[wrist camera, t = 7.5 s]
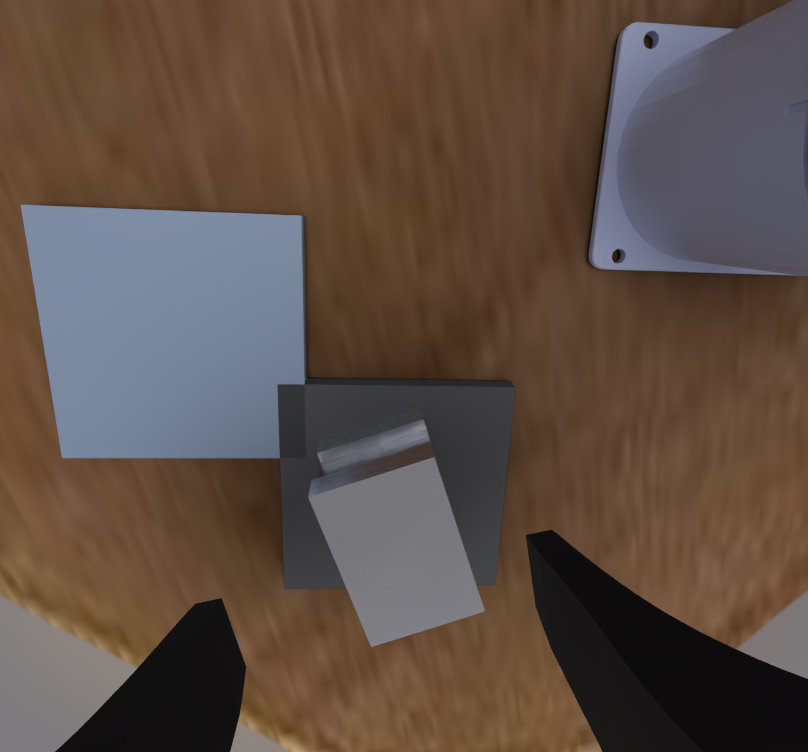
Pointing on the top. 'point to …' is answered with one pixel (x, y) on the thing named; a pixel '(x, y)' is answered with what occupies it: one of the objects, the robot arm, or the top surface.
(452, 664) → the top surface
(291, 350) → the stand
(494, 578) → the stand
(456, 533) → the block
